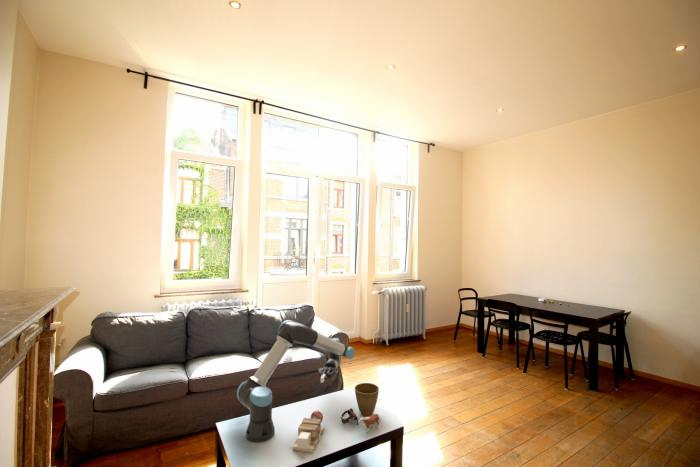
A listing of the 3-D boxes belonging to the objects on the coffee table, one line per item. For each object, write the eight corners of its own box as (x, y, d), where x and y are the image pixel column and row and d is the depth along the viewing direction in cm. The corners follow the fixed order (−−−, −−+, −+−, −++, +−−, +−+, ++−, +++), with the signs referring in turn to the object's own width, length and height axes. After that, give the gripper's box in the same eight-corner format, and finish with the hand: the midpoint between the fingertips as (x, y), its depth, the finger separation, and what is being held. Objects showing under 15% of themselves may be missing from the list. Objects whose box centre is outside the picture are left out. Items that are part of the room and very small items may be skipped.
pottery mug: (359, 428, 189) (352, 417, 188) (344, 434, 191) (338, 423, 189) (360, 412, 201) (353, 402, 200) (346, 418, 203) (340, 407, 201)
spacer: (307, 449, 166) (307, 439, 166) (297, 448, 167) (297, 437, 167) (310, 442, 172) (310, 432, 172) (301, 441, 173) (301, 431, 173)
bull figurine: (357, 431, 186) (357, 416, 186) (376, 424, 193) (376, 410, 193) (361, 435, 182) (362, 420, 182) (381, 428, 189) (381, 413, 190)
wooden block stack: (313, 443, 172) (313, 430, 172) (300, 442, 174) (300, 428, 174) (323, 423, 192) (323, 411, 192) (311, 422, 193) (311, 410, 193)
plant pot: (351, 410, 209) (351, 384, 210) (373, 406, 214) (373, 381, 214) (359, 422, 195) (359, 394, 196) (382, 418, 200) (382, 391, 200)
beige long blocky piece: (313, 453, 166) (313, 436, 166) (292, 450, 168) (292, 433, 168) (323, 431, 186) (323, 416, 186) (304, 428, 188) (305, 414, 188)
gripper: (340, 372, 223) (332, 387, 200) (321, 371, 226) (311, 385, 203) (340, 361, 224) (332, 375, 200) (321, 360, 226) (311, 373, 203)
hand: (321, 380), depth 201 cm, fingers closed
